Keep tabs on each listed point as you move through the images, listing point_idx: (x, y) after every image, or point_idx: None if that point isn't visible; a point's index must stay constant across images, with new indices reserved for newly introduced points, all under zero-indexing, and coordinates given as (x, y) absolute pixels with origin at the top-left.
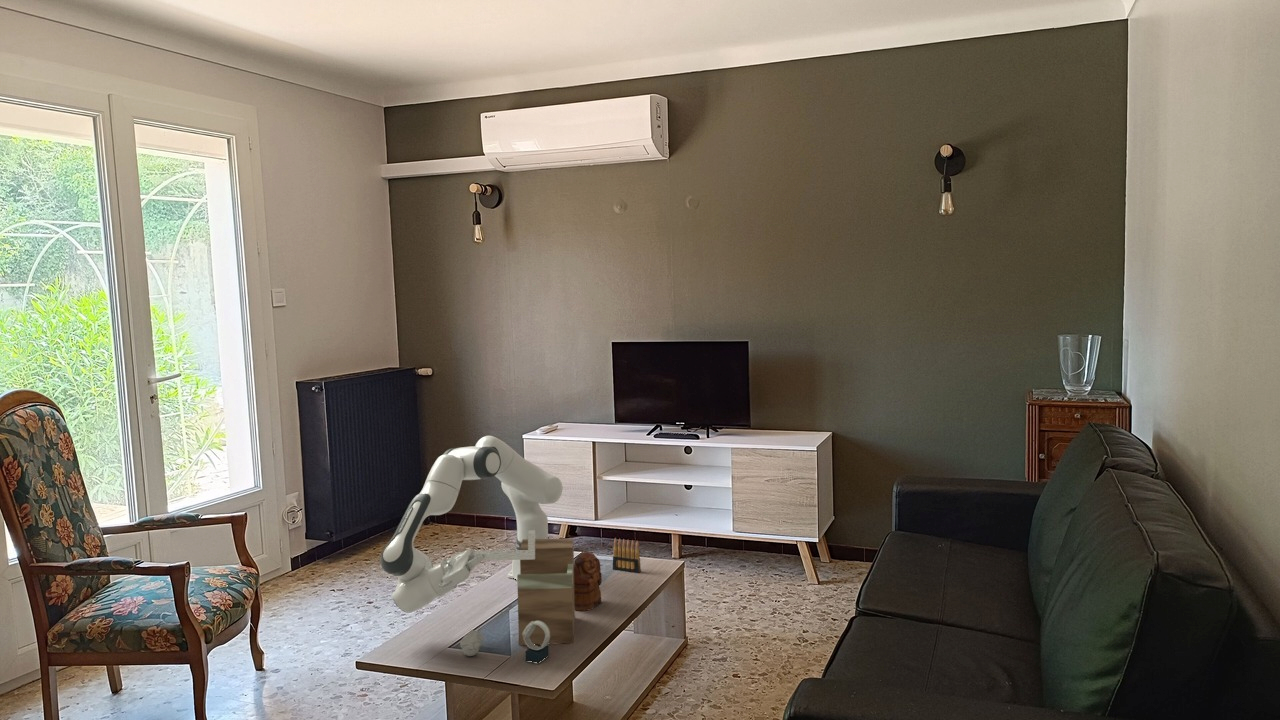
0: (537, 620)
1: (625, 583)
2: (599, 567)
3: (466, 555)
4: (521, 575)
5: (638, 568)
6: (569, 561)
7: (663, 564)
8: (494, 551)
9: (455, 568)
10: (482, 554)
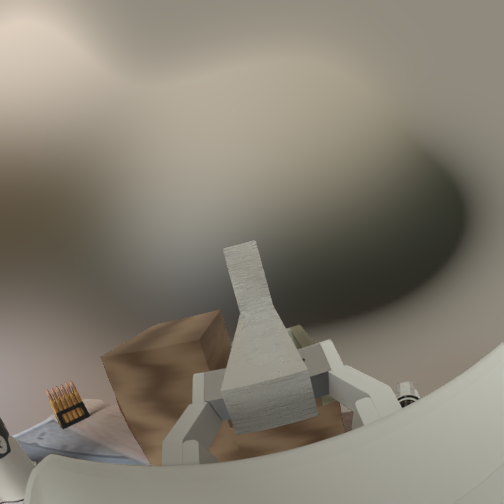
0: (396, 390)
1: (109, 424)
2: None
3: (186, 484)
4: None
5: (87, 411)
6: (228, 340)
7: (84, 403)
8: (248, 341)
9: (492, 447)
10: (300, 349)
